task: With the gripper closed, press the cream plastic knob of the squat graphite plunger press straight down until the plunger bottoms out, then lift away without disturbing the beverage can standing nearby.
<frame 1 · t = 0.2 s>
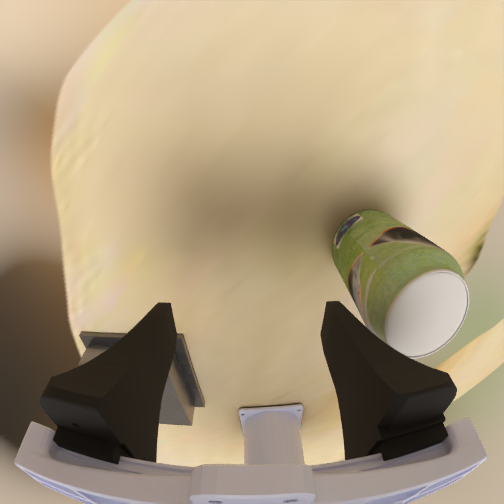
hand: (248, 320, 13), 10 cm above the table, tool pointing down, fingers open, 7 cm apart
beverage can: (359, 234, 22), on the table
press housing: (144, 372, 29), on the table
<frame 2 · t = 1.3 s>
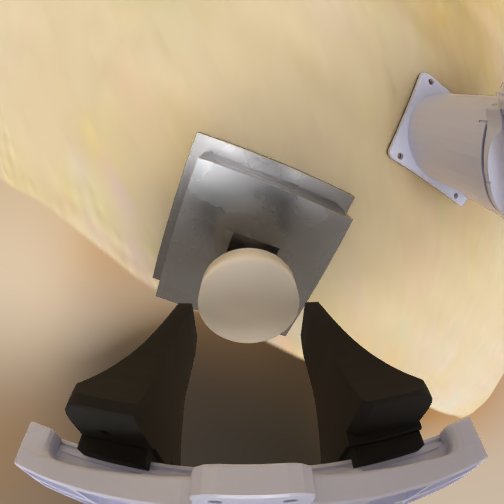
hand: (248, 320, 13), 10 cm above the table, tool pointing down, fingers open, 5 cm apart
plunger: (248, 279, 16), point 6 cm above the table, slide at 0.0 cm
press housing: (247, 235, 22), on the table
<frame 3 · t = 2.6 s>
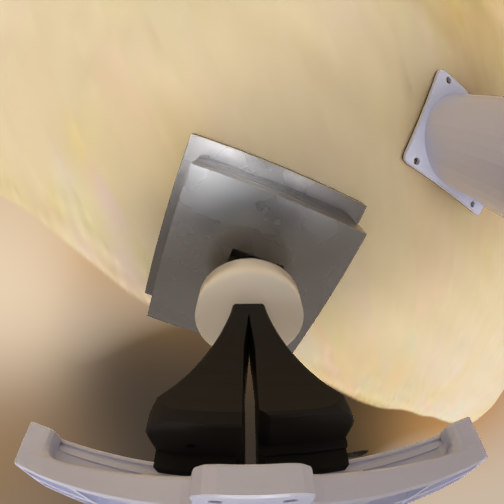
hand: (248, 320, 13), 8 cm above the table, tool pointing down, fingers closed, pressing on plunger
plunger: (248, 290, 15), point 5 cm above the table, slide at 1.2 cm, touching gripper
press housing: (248, 248, 20), on the table
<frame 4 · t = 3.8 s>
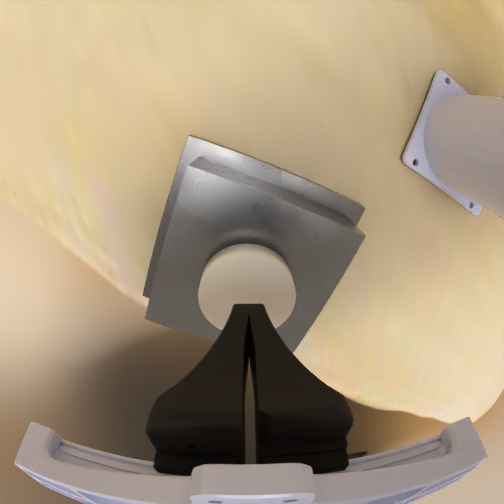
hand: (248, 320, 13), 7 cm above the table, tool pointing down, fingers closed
plunger: (246, 274, 17), point 3 cm above the table, slide at 3.1 cm
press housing: (246, 250, 20), on the table
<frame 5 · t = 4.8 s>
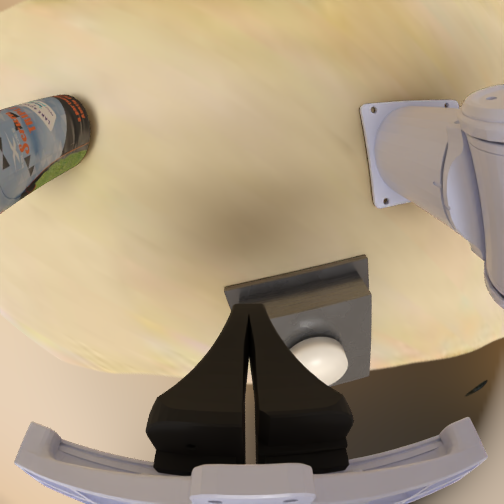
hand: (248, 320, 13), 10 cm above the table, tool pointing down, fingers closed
plunger: (312, 349, 23), point 3 cm above the table, slide at 3.1 cm
beverage can: (65, 138, 18), on the table
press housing: (306, 325, 26), on the table
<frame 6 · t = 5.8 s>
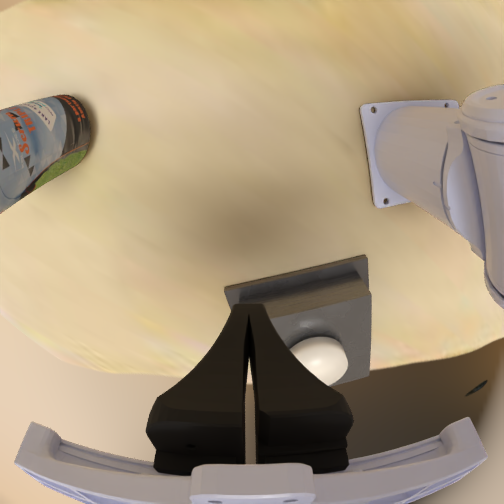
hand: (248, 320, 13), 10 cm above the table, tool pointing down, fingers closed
plunger: (312, 349, 23), point 3 cm above the table, slide at 3.1 cm
beverage can: (65, 138, 18), on the table
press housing: (306, 325, 26), on the table
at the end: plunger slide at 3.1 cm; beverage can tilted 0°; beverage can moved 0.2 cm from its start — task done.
